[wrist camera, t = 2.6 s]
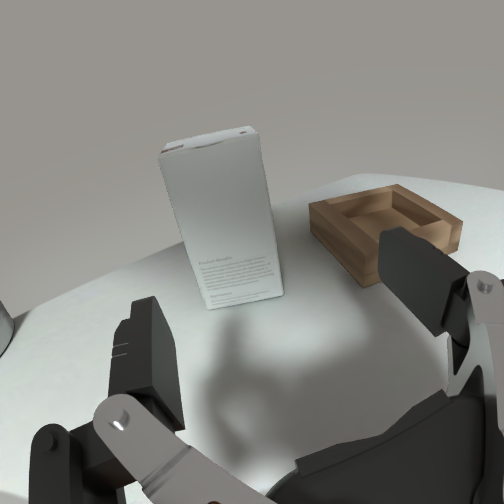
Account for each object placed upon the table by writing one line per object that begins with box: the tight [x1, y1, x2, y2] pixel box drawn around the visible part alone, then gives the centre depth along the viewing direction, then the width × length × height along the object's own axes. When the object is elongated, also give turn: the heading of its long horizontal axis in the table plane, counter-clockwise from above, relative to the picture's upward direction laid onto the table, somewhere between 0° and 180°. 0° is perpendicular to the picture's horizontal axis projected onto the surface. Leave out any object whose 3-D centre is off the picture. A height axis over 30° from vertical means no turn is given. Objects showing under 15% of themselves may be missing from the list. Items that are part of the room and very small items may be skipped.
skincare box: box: [158, 126, 284, 310], centre depth 21 cm, size 6×4×12 cm
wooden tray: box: [309, 184, 463, 288], centre depth 26 cm, size 11×10×3 cm
